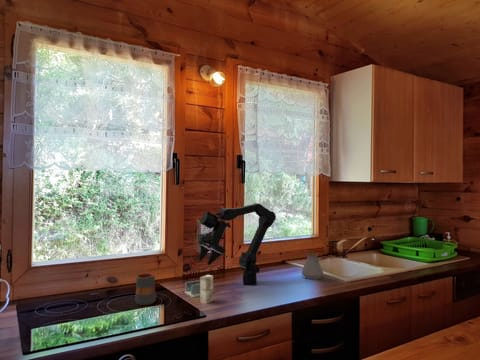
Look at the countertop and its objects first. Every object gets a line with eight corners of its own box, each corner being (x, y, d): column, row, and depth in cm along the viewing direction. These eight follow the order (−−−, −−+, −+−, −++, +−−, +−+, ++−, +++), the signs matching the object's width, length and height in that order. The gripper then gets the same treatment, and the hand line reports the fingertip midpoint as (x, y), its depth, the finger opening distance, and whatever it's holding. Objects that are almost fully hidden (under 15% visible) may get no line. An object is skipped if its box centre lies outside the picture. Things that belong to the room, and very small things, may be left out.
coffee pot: (297, 276, 204) (297, 249, 204) (313, 274, 210) (313, 247, 210) (323, 286, 186) (323, 256, 186) (341, 283, 191) (341, 253, 191)
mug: (150, 296, 173) (150, 270, 173) (158, 303, 162) (158, 276, 162) (131, 299, 169) (131, 273, 168) (138, 307, 158) (137, 279, 158)
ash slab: (208, 299, 168) (207, 274, 168) (213, 300, 166) (212, 275, 166) (200, 302, 164) (200, 277, 164) (205, 303, 162) (205, 278, 162)
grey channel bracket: (203, 289, 183) (203, 278, 183) (211, 293, 176) (211, 282, 176) (184, 292, 177) (184, 282, 177) (192, 297, 171) (192, 286, 171)
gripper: (196, 223, 186) (182, 252, 183) (213, 228, 170) (198, 260, 167) (213, 232, 191) (200, 261, 188) (232, 237, 175) (217, 269, 172)
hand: (203, 262), depth 178 cm, fingers open, 9 cm apart
